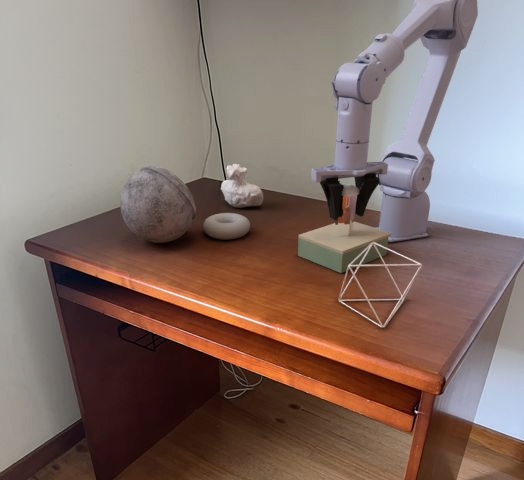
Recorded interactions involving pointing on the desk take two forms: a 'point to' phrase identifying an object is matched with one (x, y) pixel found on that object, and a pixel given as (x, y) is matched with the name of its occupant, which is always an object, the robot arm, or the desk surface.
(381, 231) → the lunchbox lid
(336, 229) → the milkshake
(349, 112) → the robot arm
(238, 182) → the white lumpy piece
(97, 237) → the desk surface
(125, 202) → the decorative orb
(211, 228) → the donut
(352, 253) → the lunchbox
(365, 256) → the geometric polyhedron
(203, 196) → the desk surface
